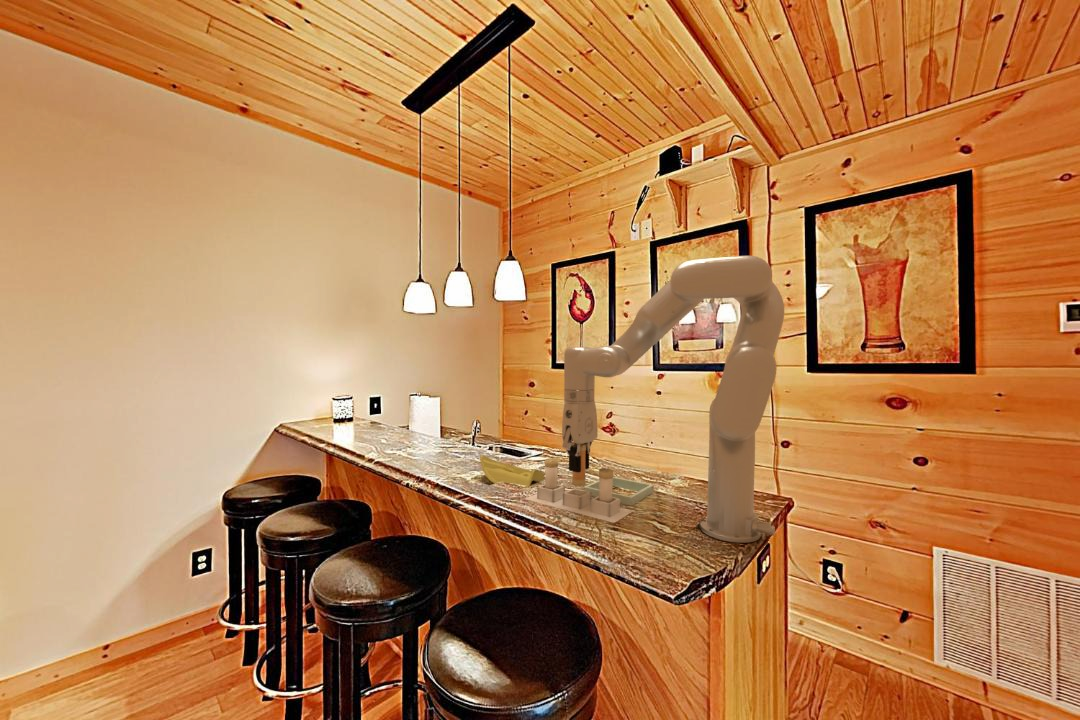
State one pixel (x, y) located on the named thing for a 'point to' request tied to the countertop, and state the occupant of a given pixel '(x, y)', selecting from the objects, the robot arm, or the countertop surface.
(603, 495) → the cylinder
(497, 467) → the plastic component
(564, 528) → the countertop surface
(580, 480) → the cylinder
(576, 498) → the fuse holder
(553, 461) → the cylinder
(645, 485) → the tray
